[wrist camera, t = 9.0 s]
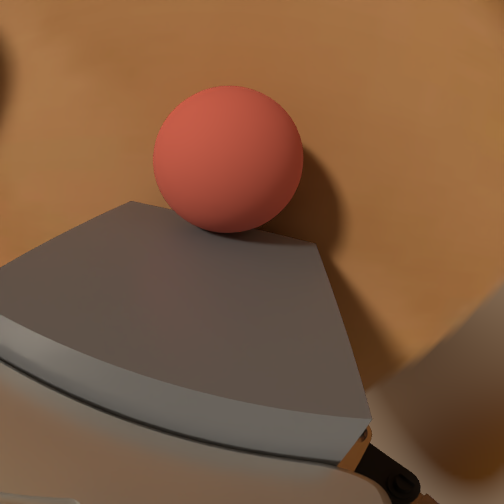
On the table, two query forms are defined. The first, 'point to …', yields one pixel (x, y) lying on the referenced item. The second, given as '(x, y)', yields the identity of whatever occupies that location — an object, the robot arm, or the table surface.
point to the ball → (228, 159)
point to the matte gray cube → (189, 332)
